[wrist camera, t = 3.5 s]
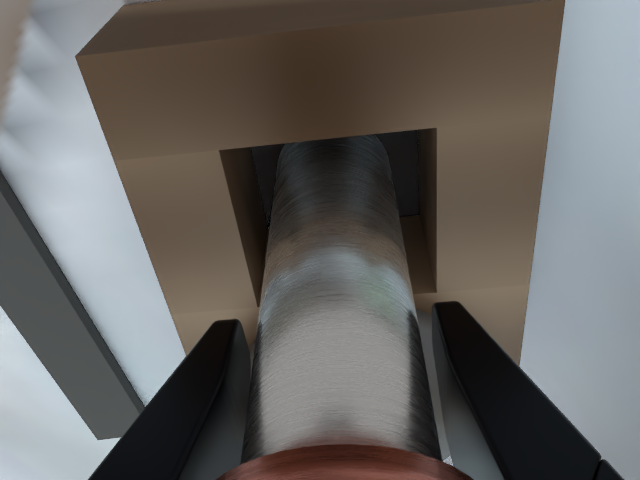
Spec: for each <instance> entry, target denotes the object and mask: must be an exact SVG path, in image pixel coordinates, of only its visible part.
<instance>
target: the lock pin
mask: <svg viewBox="0 0 640 480" xmlns="http://www.w3.org/2000/svg"><path fill="white" fill-rule="evenodd" d="M216 480H474V479H472V478H471V477H470V476H469V475H467V474H465V473H464V472H462V471H460V470H459V469H457V468H455V467H453V466H451V465H449V464H447V463H444V462H443V460H442V455H441V449H440V443H439V438H438V432H437V427H436V421H435V415H434V410H433V404H432V398H431V393H430V387H429V382H428V376H427V370H426V365H425V359H424V353H423V348H422V342H421V337H420V331H419V325H418V320H417V314H416V309H415V303H414V297H413V292H412V286H411V280H410V275H409V269H408V264H407V258H406V252H405V247H404V241H403V235H402V230H401V224H400V219H399V213H398V207H397V202H396V196H395V190H394V185H393V179H392V174H391V168H390V162H389V158H388V154H387V152H386V149H385V147H384V146H383V144H382V143H381V141H380V140H379V139H378V138H377V137H376V136H375V135H374V134H370V135H361V136H351V137H341V138H331V139H322V140H312V141H302V142H293V143H286V144H285V145H284V147H283V149H282V150H281V153H280V156H279V159H278V164H277V172H276V180H275V188H274V196H273V204H272V212H271V220H270V228H269V236H268V244H267V253H266V261H265V269H264V277H263V285H262V293H261V301H260V309H259V317H258V325H257V333H256V341H255V349H254V357H253V365H252V373H251V381H250V389H249V398H248V406H247V414H246V422H245V430H244V438H243V446H242V454H241V462H240V465H239V466H237V467H235V468H233V469H231V470H229V471H228V472H226V473H224V474H223V475H221V476H220V477H219V478H217V479H216Z"/></svg>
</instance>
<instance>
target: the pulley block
mask: <svg viewBox="0 0 640 480" xmlns="http://www.w3.org/2000/svg"><path fill="white" fill-rule="evenodd" d="M564 6H565V0H162V1H153V2H145V3H137V4H129V5H123V6H122V7H121V8H120V10H119V11H118V12H117V13H116V14H115V15H114V16H113V17H112V18H111V19H110V20H109V21H108V22H107V23H106V24H105V25H104V26H103V28H102V29H101V30H100V31H99V32H98V33H97V34H96V35H95V36H94V37H93V38H92V39H91V40H90V41H89V42H88V43H87V44H86V45H85V47H84V48H83V49H82V50H81V51H80V52H79V53H78V54H77V55H76V56H75V57H76V60H77V63H78V66H79V68H80V71H81V74H82V76H83V79H84V82H85V84H86V87H87V90H88V92H89V95H90V98H91V101H92V103H93V106H94V109H95V111H96V114H97V117H98V119H99V122H100V125H101V128H102V130H103V133H104V136H105V138H106V141H107V144H108V146H109V149H110V152H111V154H112V157H113V160H114V163H115V165H116V168H117V171H118V173H119V176H120V179H121V181H122V184H123V187H124V189H125V192H126V195H127V198H128V200H129V203H130V206H131V208H132V211H133V214H134V216H135V219H136V222H137V224H138V227H139V230H140V233H141V235H142V238H143V241H144V243H145V246H146V249H147V251H148V254H149V257H150V259H151V262H152V265H153V268H154V270H155V273H156V276H157V278H158V281H159V284H160V286H161V289H162V292H163V294H164V297H165V300H166V303H167V305H168V308H169V311H170V313H171V316H172V319H173V321H174V324H175V327H176V330H177V332H178V335H179V338H180V340H181V343H182V346H183V348H184V351H185V354H186V356H187V355H188V353H189V352H190V351H191V350H192V348H193V347H194V346H195V345H196V343H197V342H198V341H199V340H200V338H201V337H202V336H203V335H204V333H205V332H206V331H207V330H208V328H209V327H210V326H211V324H212V323H214V322H215V321H217V320H227V319H238V320H240V322H241V324H242V327H243V330H244V334H245V337H246V341H247V345H248V348H249V352H250V358H251V373H252V365H253V357H254V349H255V341H256V333H257V325H258V317H259V309H260V301H261V293H262V285H263V277H264V269H265V261H266V253H267V244H268V236H269V229H268V228H267V223H266V219H265V214H264V209H263V204H262V200H261V195H260V190H259V185H258V181H257V176H256V171H255V166H254V162H253V157H252V152H251V147H254V146H264V145H273V144H283V143H293V142H302V141H312V140H322V139H331V138H341V137H351V136H361V135H370V134H380V133H390V132H399V131H409V130H418V177H419V215H414V216H404V217H399V219H400V224H401V230H402V235H403V241H404V247H405V252H406V258H407V264H408V269H409V275H410V280H411V286H412V292H413V297H414V303H415V309H416V314H417V320H418V325H419V331H420V337H421V342H422V348H423V353H424V359H425V365H426V370H427V376H428V382H429V387H430V393H431V398H432V404H433V410H434V415H435V421H436V427H437V432H438V438H439V443H440V449H441V455H442V460H444V459H446V458H447V457H449V456H450V455H451V454H450V450H449V446H448V442H447V438H446V433H445V427H444V422H443V415H442V408H441V401H440V395H439V388H438V381H437V374H436V368H435V361H434V354H433V346H432V306H433V304H434V303H436V302H447V301H458V302H459V303H461V304H462V305H463V306H464V308H465V309H466V310H467V311H468V312H469V313H470V314H471V315H472V316H473V317H474V318H475V319H476V321H477V322H478V323H479V324H480V325H481V326H482V327H483V328H484V329H485V330H486V331H487V332H488V334H489V335H490V336H491V337H492V338H493V339H494V340H495V341H496V342H497V343H498V344H499V345H500V346H501V348H502V349H503V350H504V351H505V352H506V353H507V354H508V355H509V356H510V357H511V358H512V359H513V361H514V362H515V363H516V364H517V365H518V366H519V364H520V356H521V348H522V340H523V332H524V324H525V316H526V308H527V300H528V292H529V284H530V276H531V269H532V261H533V253H534V245H535V237H536V229H537V221H538V213H539V205H540V197H541V189H542V181H543V173H544V165H545V157H546V149H547V141H548V133H549V125H550V117H551V109H552V101H553V93H554V85H555V78H556V70H557V62H558V54H559V46H560V38H561V30H562V22H563V14H564Z"/></svg>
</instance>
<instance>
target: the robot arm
mask: <svg viewBox="0 0 640 480" xmlns="http://www.w3.org/2000/svg"><path fill="white" fill-rule="evenodd" d="M432 346H433V354H434V361H435V368H436V374H437V381H438V388H439V395H440V401H441V408H442V415H443V422H444V427H445V433H446V438H447V442H448V446H449V450H450V454H451V458H452V462H453V465H454V467H455V468H457V469H459V470H460V471H462V472H464V473H465V474H467V475H469V476H470V477H471V478H472V479H474V480H624V479H623V478H622V477H621V476H620V475H619V474H618V473H617V472H616V470H615V469H614V468H613V467H612V466H611V465H610V464H609V463H608V462H607V461H606V460H605V459H602V460H601V455H600V453H599V452H598V451H597V450H596V449H595V448H594V447H593V446H592V445H591V444H590V443H589V442H588V440H587V439H586V438H585V437H584V436H583V435H582V434H581V433H580V432H579V431H578V430H577V429H576V427H575V426H574V425H573V424H572V423H571V422H570V421H569V420H568V419H567V418H566V417H565V416H564V415H563V413H562V412H561V411H560V410H559V409H558V408H557V407H556V406H555V405H554V404H553V403H552V402H551V400H550V399H549V398H548V397H547V396H546V395H545V394H544V393H543V392H542V391H541V390H540V389H539V388H538V386H537V385H536V384H535V383H534V382H533V381H532V380H531V379H530V378H529V377H528V376H527V375H526V373H525V372H524V371H523V370H522V369H521V368H520V367H519V366H518V365H517V364H516V363H515V362H514V361H513V359H512V358H511V357H510V356H509V355H508V354H507V353H506V352H505V351H504V350H503V349H502V348H501V346H500V345H499V344H498V343H497V342H496V341H495V340H494V339H493V338H492V337H491V336H490V335H489V334H488V332H487V331H486V330H485V329H484V328H483V327H482V326H481V325H480V324H479V323H478V322H477V321H476V319H475V318H474V317H473V316H472V315H471V314H470V313H469V312H468V311H467V310H466V309H465V308H464V306H463V305H462V304H461V303H459V302H458V301H447V302H436V303H434V304H433V306H432ZM250 381H251V358H250V352H249V348H248V345H247V341H246V337H245V334H244V330H243V327H242V324H241V322H240V320H238V319H227V320H217V321H215V322H214V323H212V324H211V326H210V327H209V328H208V330H207V331H206V332H205V333H204V335H203V336H202V337H201V338H200V340H199V341H198V342H197V343H196V345H195V346H194V347H193V348H192V350H191V351H190V352H189V353H188V355H187V356H186V357H185V358H184V360H183V361H182V362H181V363H180V365H179V366H178V367H177V368H176V370H175V371H174V372H173V373H172V375H171V376H170V377H169V378H168V380H167V381H166V382H165V383H164V385H163V386H162V387H161V388H160V390H159V391H158V392H157V394H156V395H155V396H154V397H153V399H152V400H151V401H150V402H149V404H148V405H147V406H146V407H145V409H144V410H143V411H142V412H141V414H140V415H139V416H138V417H137V419H136V420H135V421H134V422H133V424H132V425H131V426H130V427H129V429H128V430H127V431H126V432H125V434H124V435H123V436H122V437H121V439H120V440H119V441H118V442H117V444H116V445H115V446H114V447H113V449H112V450H111V451H110V452H109V454H108V455H107V456H106V458H105V459H104V460H103V461H102V463H101V464H100V465H99V466H98V468H97V469H96V470H95V471H94V473H93V474H92V475H91V476H90V478H89V479H88V480H216V479H217V478H219V477H220V476H221V475H223V474H224V473H226V472H228V471H229V470H231V469H233V468H235V467H237V466H239V465H240V462H241V454H242V446H243V438H244V430H245V422H246V414H247V406H248V398H249V389H250ZM600 460H601V461H600Z"/></svg>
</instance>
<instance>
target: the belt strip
mask: <svg viewBox="0 0 640 480" xmlns="http://www.w3.org/2000/svg"><path fill="white" fill-rule="evenodd" d="M0 306H1V307H2V308H3V310H4V311H5V313H6V314H7V315H8V317H9V318H10V319H11V321H12V322H13V324H14V325H15V326H16V328H17V329H18V331H19V332H20V333H21V335H22V336H23V337H24V339H25V340H26V342H27V343H28V344H29V346H30V347H31V348H32V350H33V351H34V353H35V354H36V355H37V357H38V358H39V360H40V361H41V362H42V364H43V365H44V366H45V368H46V369H47V371H48V372H49V373H50V375H51V376H52V377H53V379H54V380H55V382H56V383H57V384H58V386H59V387H60V389H61V390H62V391H63V393H64V394H65V395H66V397H67V398H68V400H69V401H70V402H71V404H72V405H73V406H74V408H75V409H76V411H77V412H78V413H79V415H80V416H81V418H82V419H83V420H84V422H85V423H86V424H87V426H88V427H89V429H90V430H91V431H92V433H93V434H94V435H95V437H96V438H97V440H103V439H111V438H119V437H122V436H123V435H124V434H125V432H126V431H127V430H128V429H129V427H130V426H131V425H132V424H133V422H134V421H135V420H136V419H137V417H138V416H139V415H140V414H141V412H142V411H143V410H144V409H145V407H144V406H143V404H142V403H141V401H140V399H139V398H138V396H137V394H136V393H135V391H134V389H133V388H132V386H131V385H130V383H129V381H128V380H127V378H126V376H125V375H124V373H123V371H122V370H121V368H120V367H119V365H118V363H117V362H116V360H115V358H114V357H113V355H112V353H111V352H110V350H109V349H108V347H107V345H106V344H105V342H104V340H103V339H102V337H101V335H100V334H99V332H98V331H97V329H96V327H95V326H94V324H93V322H92V321H91V319H90V318H89V316H88V314H87V313H86V311H85V309H84V308H83V306H82V304H81V303H80V301H79V300H78V298H77V296H76V295H75V293H74V291H73V290H72V288H71V286H70V285H69V283H68V282H67V280H66V278H65V277H64V275H63V273H62V272H61V270H60V268H59V267H58V265H57V264H56V262H55V260H54V259H53V257H52V255H51V254H50V252H49V250H48V249H47V247H46V246H45V244H44V242H43V241H42V239H41V237H40V236H39V234H38V232H37V231H36V229H35V228H34V226H33V224H32V223H31V221H30V219H29V218H28V216H27V214H26V213H25V211H24V210H23V208H22V206H21V205H20V203H19V201H18V200H17V198H16V196H15V195H14V193H13V192H12V190H11V188H10V187H9V185H8V183H7V182H6V180H5V178H4V177H3V175H2V174H1V172H0Z"/></svg>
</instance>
